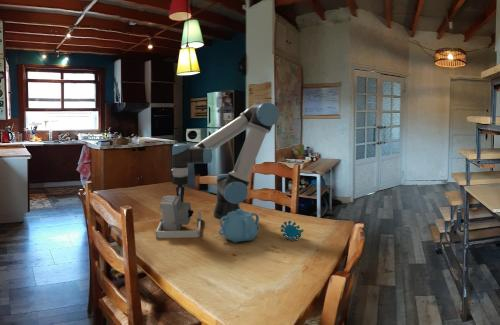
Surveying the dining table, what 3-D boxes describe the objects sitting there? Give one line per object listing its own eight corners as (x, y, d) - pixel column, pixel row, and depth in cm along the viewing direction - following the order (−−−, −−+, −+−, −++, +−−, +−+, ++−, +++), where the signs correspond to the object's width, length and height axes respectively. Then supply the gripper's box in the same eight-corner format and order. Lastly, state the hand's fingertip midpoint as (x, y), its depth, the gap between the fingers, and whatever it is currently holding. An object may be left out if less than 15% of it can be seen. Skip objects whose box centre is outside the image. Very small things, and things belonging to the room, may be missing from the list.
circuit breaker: (192, 231, 191) (189, 205, 184) (163, 230, 193) (159, 203, 186) (196, 221, 198) (193, 196, 191) (167, 220, 200) (163, 195, 193)
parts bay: (200, 226, 199) (200, 220, 199) (199, 237, 183) (199, 230, 182) (160, 227, 197) (160, 221, 197) (155, 238, 181) (155, 231, 180)
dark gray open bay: (201, 219, 212) (201, 212, 212) (200, 226, 199) (200, 218, 199) (163, 220, 210) (163, 212, 210) (160, 227, 197) (160, 219, 197)
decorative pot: (214, 241, 178) (214, 211, 176) (233, 231, 192) (233, 203, 190) (246, 247, 170) (246, 216, 169) (263, 236, 184) (263, 207, 183)
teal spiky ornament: (282, 239, 176) (280, 219, 182) (278, 245, 181) (275, 225, 187) (306, 240, 179) (302, 221, 185) (301, 246, 183) (297, 227, 190)
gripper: (173, 173, 203) (174, 219, 206) (171, 178, 190) (172, 226, 193) (188, 173, 204) (188, 218, 207) (187, 178, 191) (187, 226, 194)
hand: (180, 222), depth 200 cm, fingers closed
